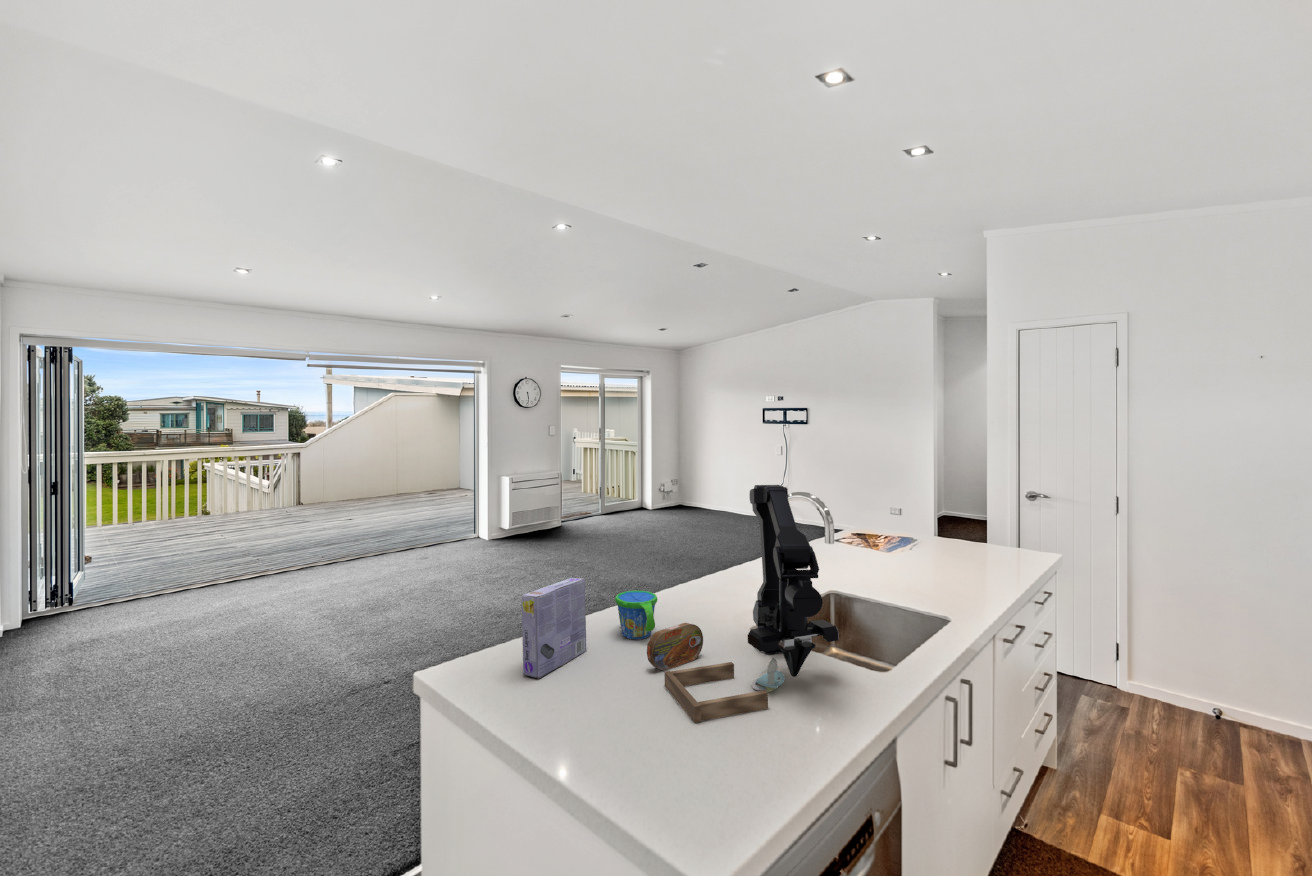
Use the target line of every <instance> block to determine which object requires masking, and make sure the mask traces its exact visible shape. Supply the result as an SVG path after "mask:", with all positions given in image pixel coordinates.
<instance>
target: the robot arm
mask: <svg viewBox="0 0 1312 876" xmlns="http://www.w3.org/2000/svg"><path fill="white" fill-rule="evenodd" d="M753 487H754V488H751V489H750V490H749V502H750V504H751V506H752V507H751V508H752V512H753V514H754V515H755V516H756V518H757V520H758V521H759V528H760V529H759V530H760V545H761V547H760V548H761V550H760V551H761V562H762V563H761V564H762V565H761V566H762V567H761V568H762V580H763V581H762V583H761V585H760V587H759V588H758V591H757V593H756V594H757V598H756V599H757V600H755V602H754V606H753V609H752V618H753V622H754V623H755V625H756V627H757V628H754V629H750V630H749V632H748V633H747V644H749V645H750V646H751V647H753V648H755V649H756V650H757V651H759V652H761V653H764V654H766V655H773V654H781V653H782V655H783V657H784V659H785V663H786V665H787V669H788V672H789V674H790V676H791V677H793V678H796V677H798V675H799V673H800V671H801V669H802V666H803V665H804V663H805V661H806V660H807V658H808V656H809V655H810V653H811V651H812V650H813V649H816V644H815V643H814V642H813V641H812V640H813V638H814V637H819V636H821V637H822V638H823V640H824V641H826V642H827V643H831V642H839V640H840V636H839V635H840V634H839V633H840V632H839V629H838V627H837V626H836V625H834V624H832V623H831V622H829V621H826V620H825V619H817V620H810V621H809V620H808V619H809V618H812V617H814V616H816V615H817V614H818V613H820V612H821V610H822V607H823V598H822V595H821V594H820V592H819V591H818V590H817V589H816V588H815V587H814V586H813V581H812V579H819V571H820V567H819V563H818V560H817V557H816V553H815V551H814V548H813V546H811V545H810V542H809V540H808V538H807V536H806V535H805V534H804V533H803V532H801V531H800V530H799V529H798V527H797V524H796V520H795V517H794V514H793V512H792V508H791V504H790V501H789V491H788V489H789V488H788V487H787V486H783V485H780V484H755V485H754V486H753ZM808 568H809V569H808ZM808 621H809V622H808Z"/></svg>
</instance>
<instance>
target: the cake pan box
mask: <svg viewBox="0 0 1312 876" xmlns="http://www.w3.org/2000/svg"><path fill="white" fill-rule="evenodd" d="M586 614H587V613H586V579H585V577H584V578H578V577H569V578H567V579H564V580H562V581H561V580H560V581H559V582H555V583H552V584H549V585H547V586H544V587H541V588H539V589H535V590H533V591H530V592H529V591H528V593H527V592H526V593H524V594H521V626H522V627H521V630H522V633H521V635H522V636H521V637H522V638H521V639H522V670H523V671H522V675H525V676H527V677H531V678H534V679H541V678H543V676H545V675H547V674H549V673H550V672H553V671H554V670H555V669H557V668H558V669H559V668H561V667H562V666H564V665H566V664H567V663H569V662H570V661H572V660H573V659H575V658H576V657H578V656H581V655H582V654H584V653H586V652H587V621H586V619H587V618H586Z"/></svg>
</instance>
